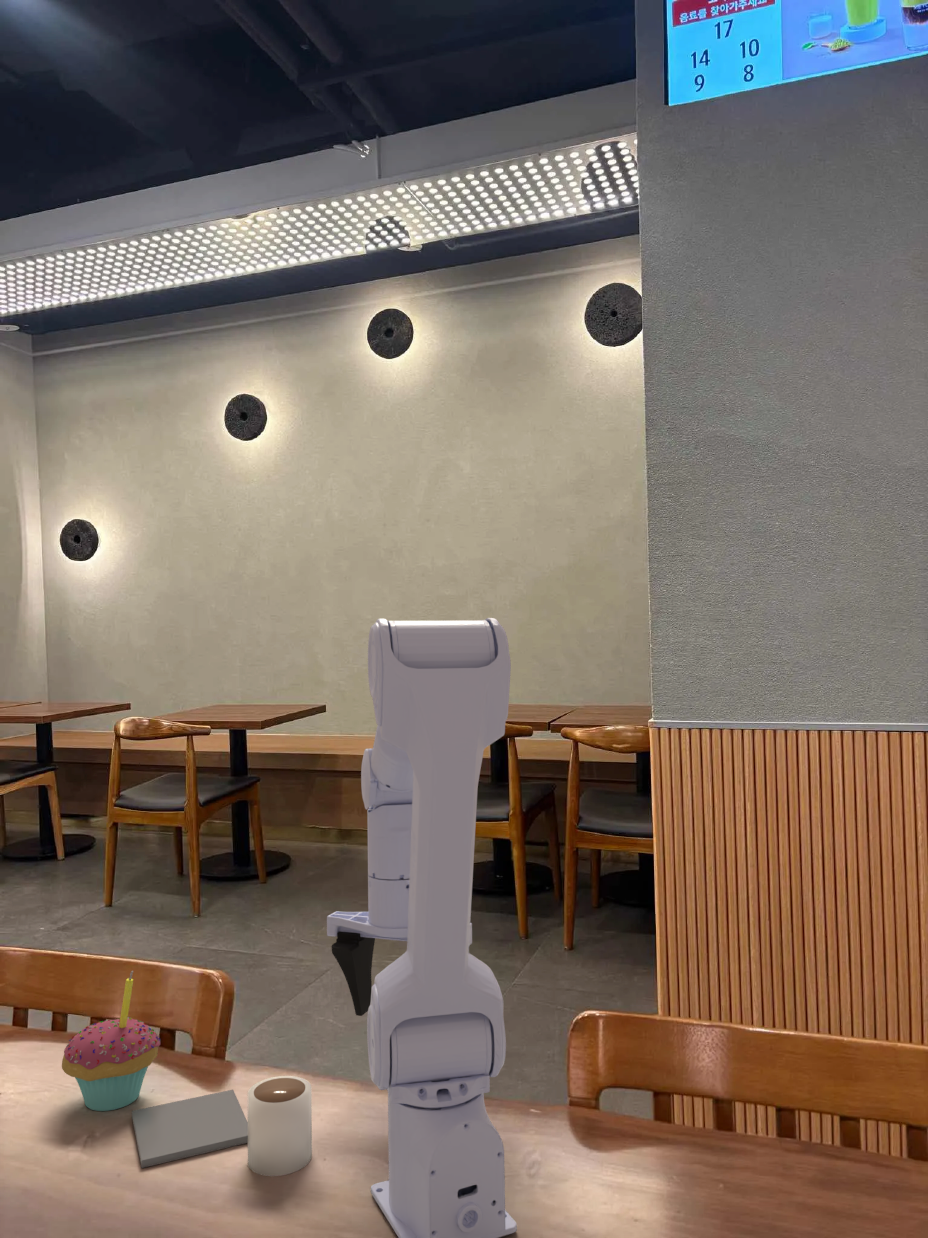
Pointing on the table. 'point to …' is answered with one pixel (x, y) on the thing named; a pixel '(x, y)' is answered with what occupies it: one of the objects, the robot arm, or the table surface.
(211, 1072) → the table surface
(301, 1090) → the cup
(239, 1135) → the coaster
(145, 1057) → the cupcake
